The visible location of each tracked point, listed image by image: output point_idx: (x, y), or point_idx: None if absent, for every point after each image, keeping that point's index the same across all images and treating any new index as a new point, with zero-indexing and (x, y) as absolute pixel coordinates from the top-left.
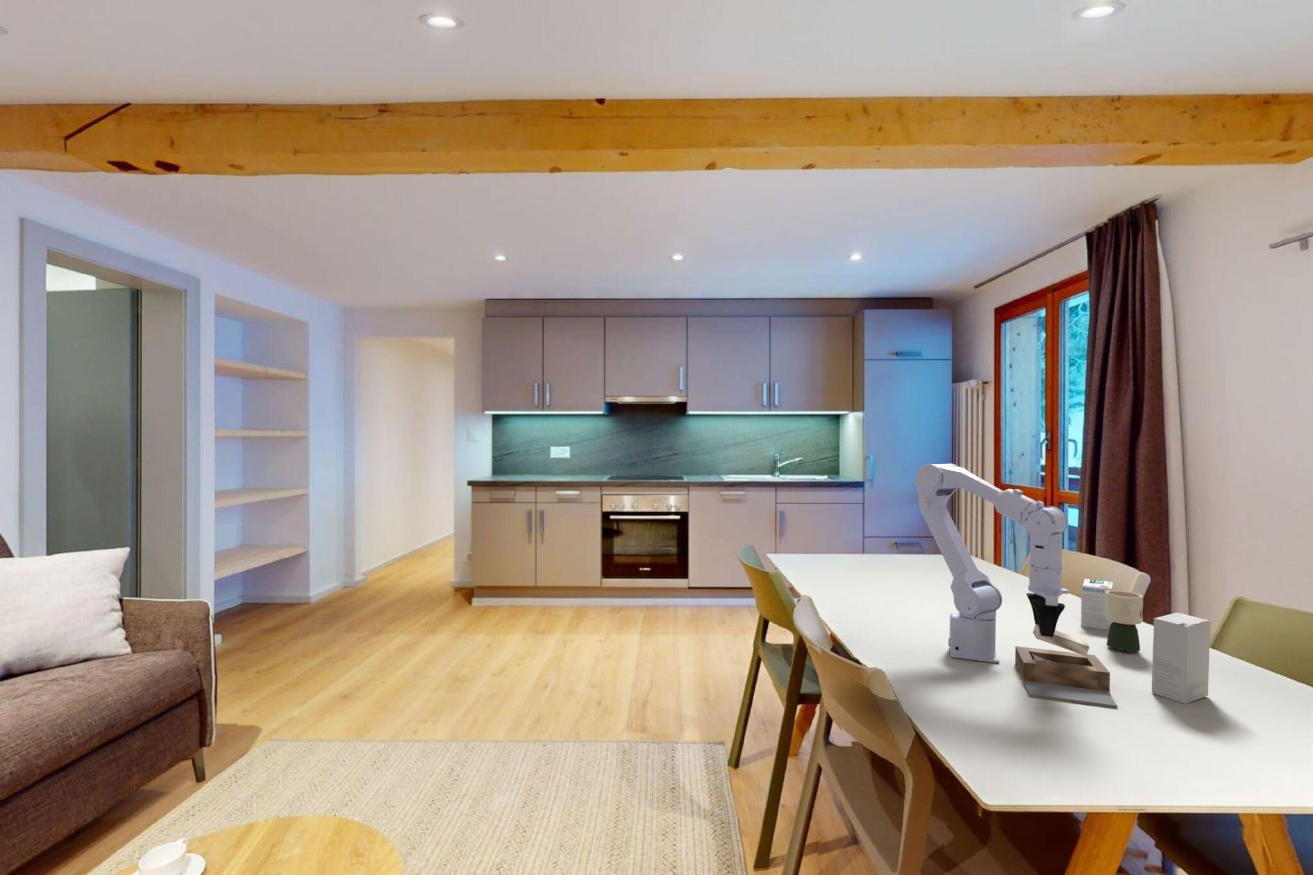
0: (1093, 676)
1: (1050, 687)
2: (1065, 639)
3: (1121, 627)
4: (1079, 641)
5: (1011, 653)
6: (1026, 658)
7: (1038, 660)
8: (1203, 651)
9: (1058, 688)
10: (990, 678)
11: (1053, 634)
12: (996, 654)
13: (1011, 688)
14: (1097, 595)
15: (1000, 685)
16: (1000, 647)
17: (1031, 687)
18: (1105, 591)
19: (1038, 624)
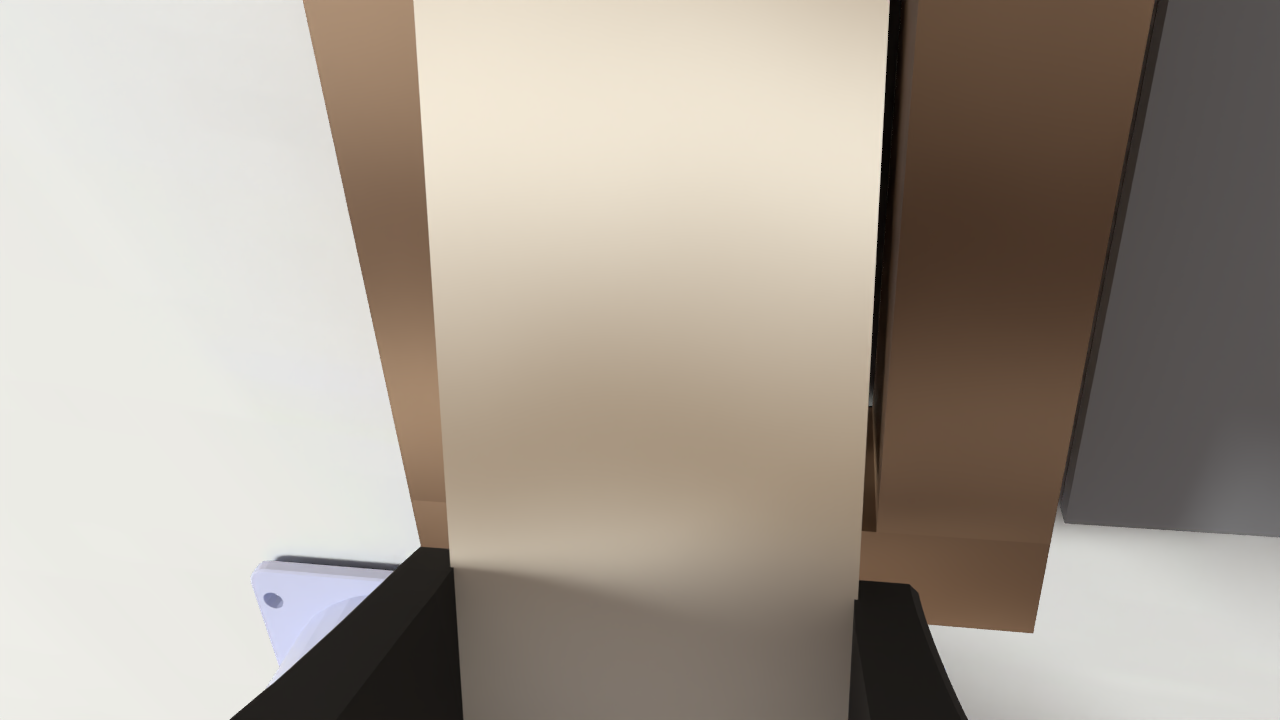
0: None
1: (1223, 334)
2: (866, 381)
3: None
4: (710, 98)
5: (183, 436)
6: (865, 580)
7: (896, 485)
8: None
9: (1243, 264)
10: (1003, 700)
11: (918, 612)
12: (370, 580)
13: (1239, 614)
14: None
15: (1174, 671)
16: (66, 486)
17: (1262, 496)
18: None
19: (462, 717)
